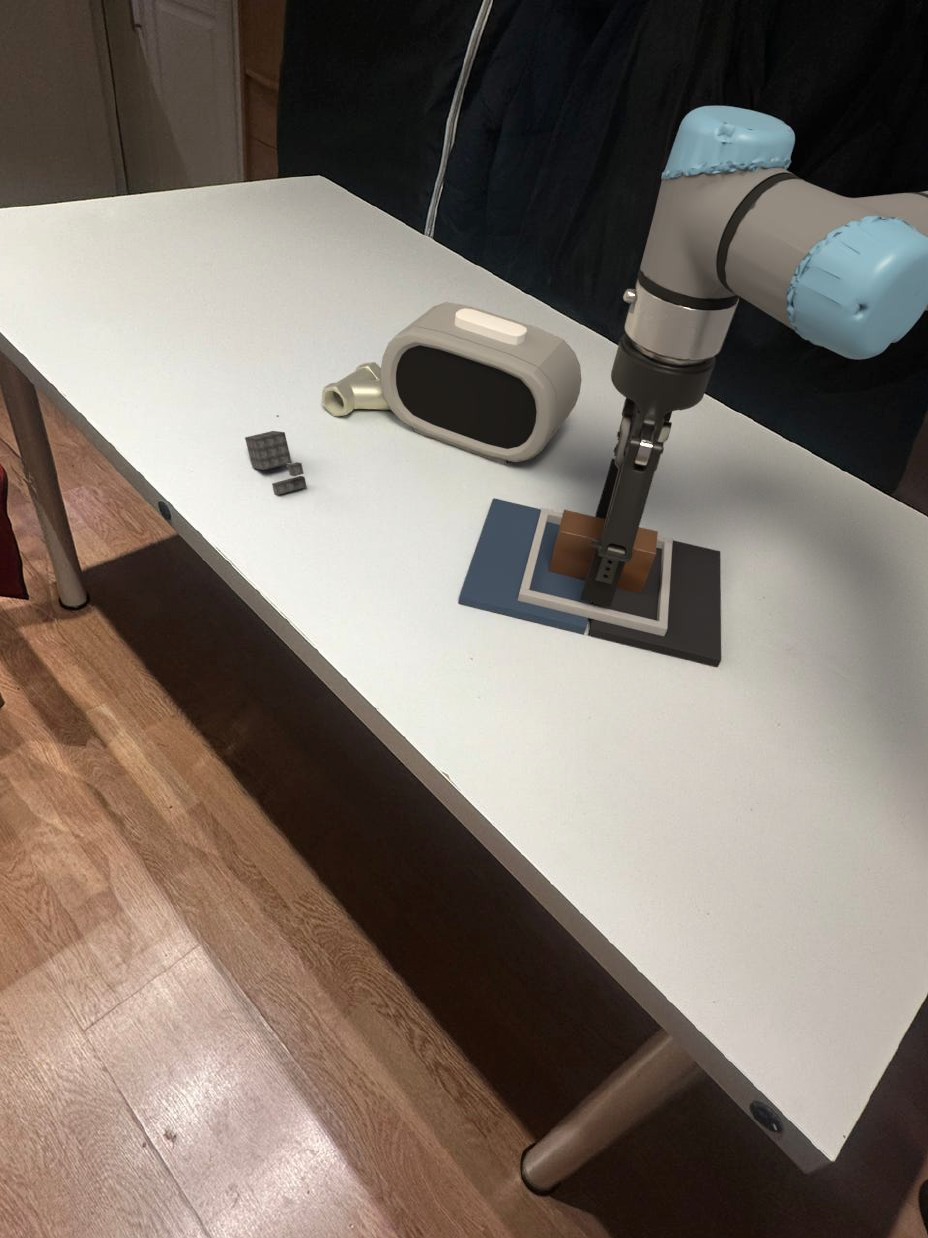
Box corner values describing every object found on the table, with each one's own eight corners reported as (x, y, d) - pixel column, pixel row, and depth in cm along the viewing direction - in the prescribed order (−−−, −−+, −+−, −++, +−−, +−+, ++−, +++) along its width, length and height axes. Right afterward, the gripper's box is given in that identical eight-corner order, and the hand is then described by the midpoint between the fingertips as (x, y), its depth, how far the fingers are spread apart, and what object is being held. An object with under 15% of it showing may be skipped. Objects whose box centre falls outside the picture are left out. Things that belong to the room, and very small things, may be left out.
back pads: (717, 558, 85) (723, 543, 83) (717, 667, 73) (725, 652, 72) (491, 505, 87) (494, 489, 85) (457, 604, 75) (460, 587, 74)
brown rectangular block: (643, 571, 80) (658, 531, 77) (641, 594, 78) (656, 553, 74) (553, 549, 81) (564, 508, 78) (548, 571, 78) (559, 530, 75)
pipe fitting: (406, 407, 99) (360, 384, 101) (411, 379, 96) (364, 355, 98) (368, 435, 94) (320, 410, 96) (371, 405, 91) (323, 380, 93)
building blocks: (273, 430, 87) (304, 434, 80) (285, 481, 89) (316, 489, 82) (244, 437, 85) (274, 441, 79) (257, 489, 87) (287, 497, 81)
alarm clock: (375, 422, 95) (381, 310, 86) (413, 389, 102) (422, 281, 92) (538, 482, 91) (564, 370, 81) (567, 443, 97) (593, 335, 88)
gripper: (633, 275, 72) (579, 478, 87) (607, 408, 55) (545, 634, 70) (717, 293, 71) (648, 494, 86) (718, 433, 54) (632, 655, 69)
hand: (602, 557), depth 78 cm, fingers open, 12 cm apart
